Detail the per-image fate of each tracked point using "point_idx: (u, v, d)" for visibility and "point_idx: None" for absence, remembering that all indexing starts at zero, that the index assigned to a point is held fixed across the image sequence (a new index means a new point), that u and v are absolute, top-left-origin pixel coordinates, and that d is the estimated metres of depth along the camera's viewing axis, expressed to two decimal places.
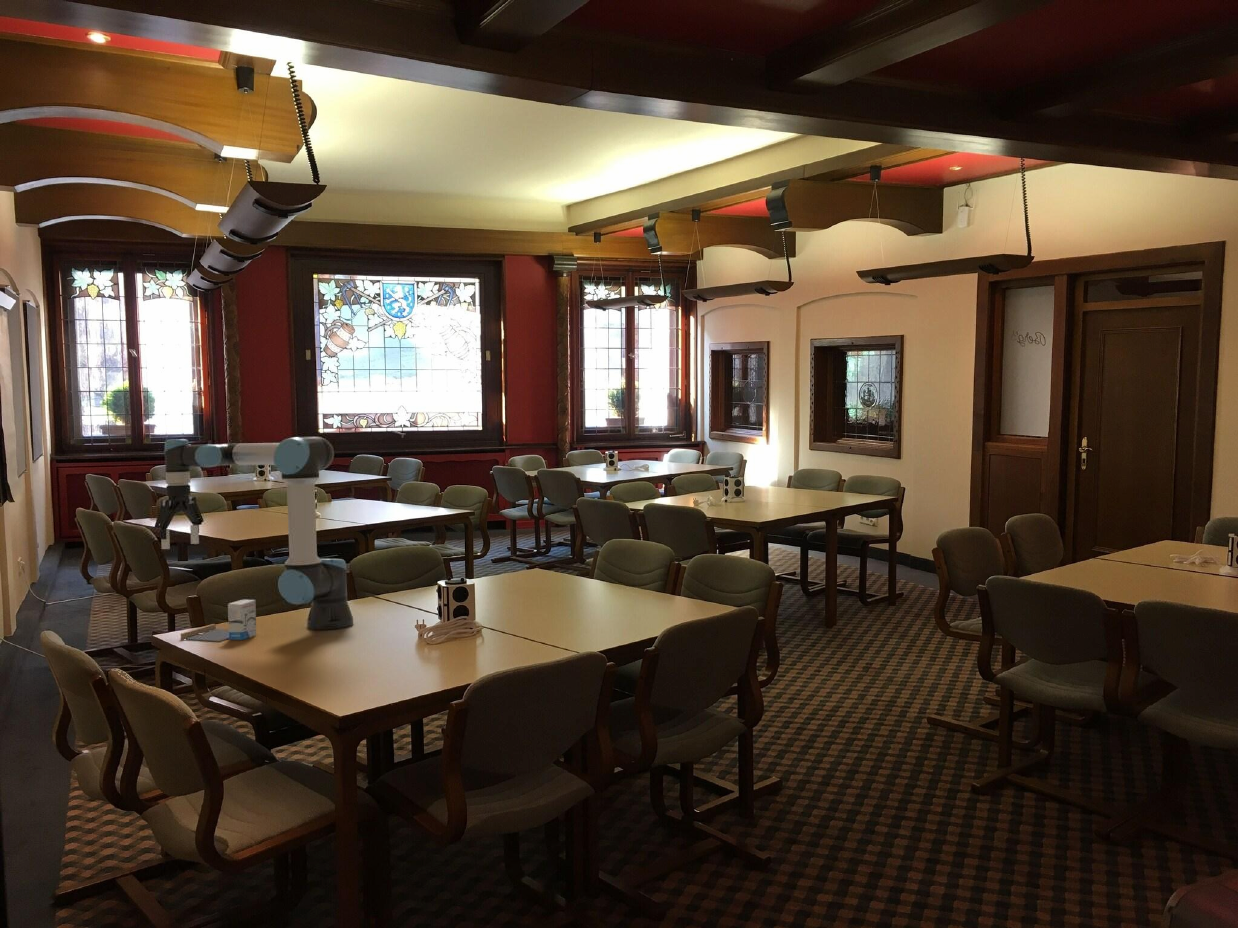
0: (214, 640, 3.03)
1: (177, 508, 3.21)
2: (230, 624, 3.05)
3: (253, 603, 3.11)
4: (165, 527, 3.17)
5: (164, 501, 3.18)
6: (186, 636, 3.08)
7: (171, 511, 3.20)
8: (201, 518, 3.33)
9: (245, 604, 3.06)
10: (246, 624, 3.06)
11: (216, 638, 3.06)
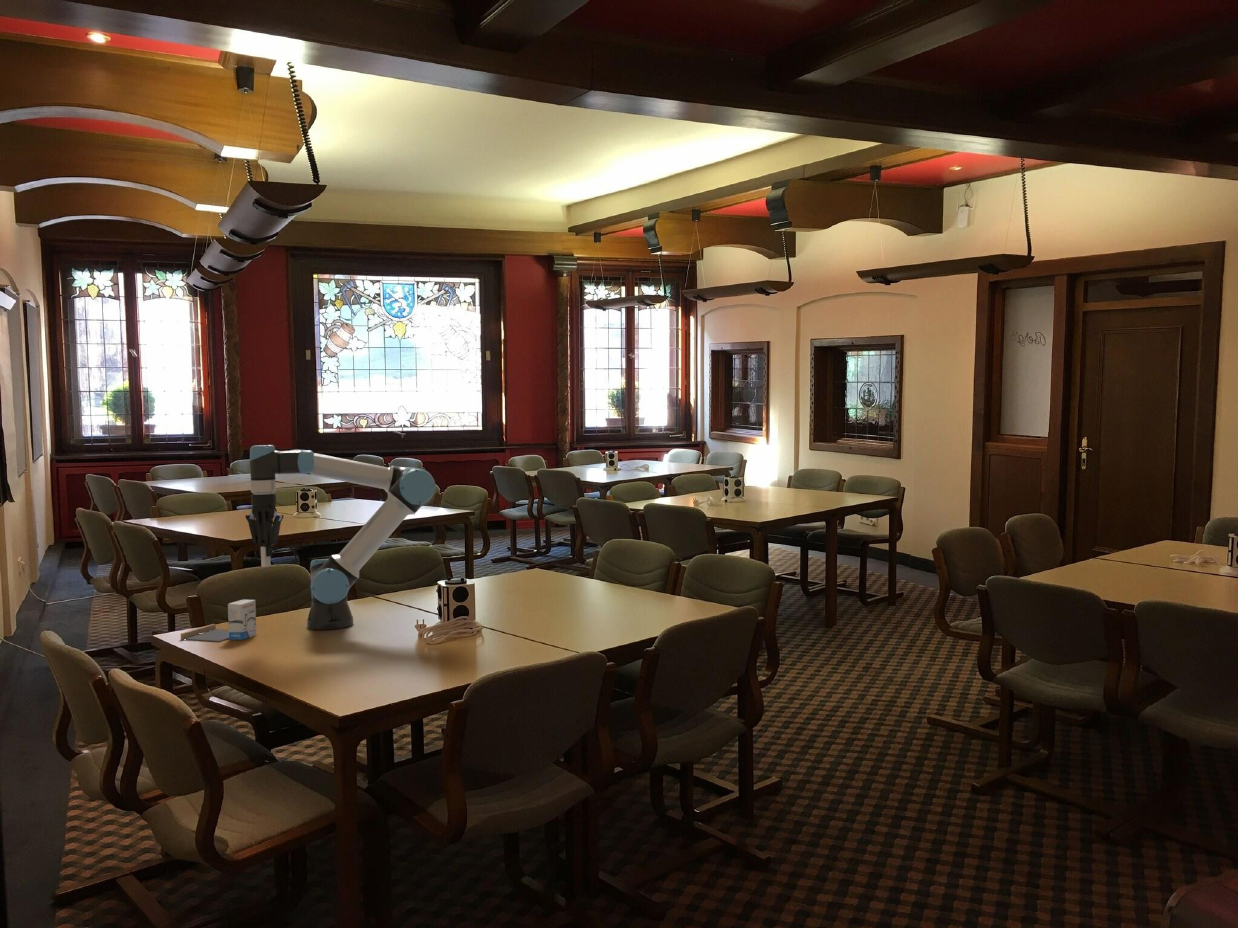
0: (214, 640, 3.03)
1: (257, 520, 3.03)
2: (230, 624, 3.05)
3: (253, 603, 3.11)
4: (258, 544, 3.04)
5: None
6: (186, 636, 3.08)
7: None
8: (271, 540, 3.02)
9: (245, 604, 3.06)
10: (246, 624, 3.06)
11: (216, 638, 3.06)
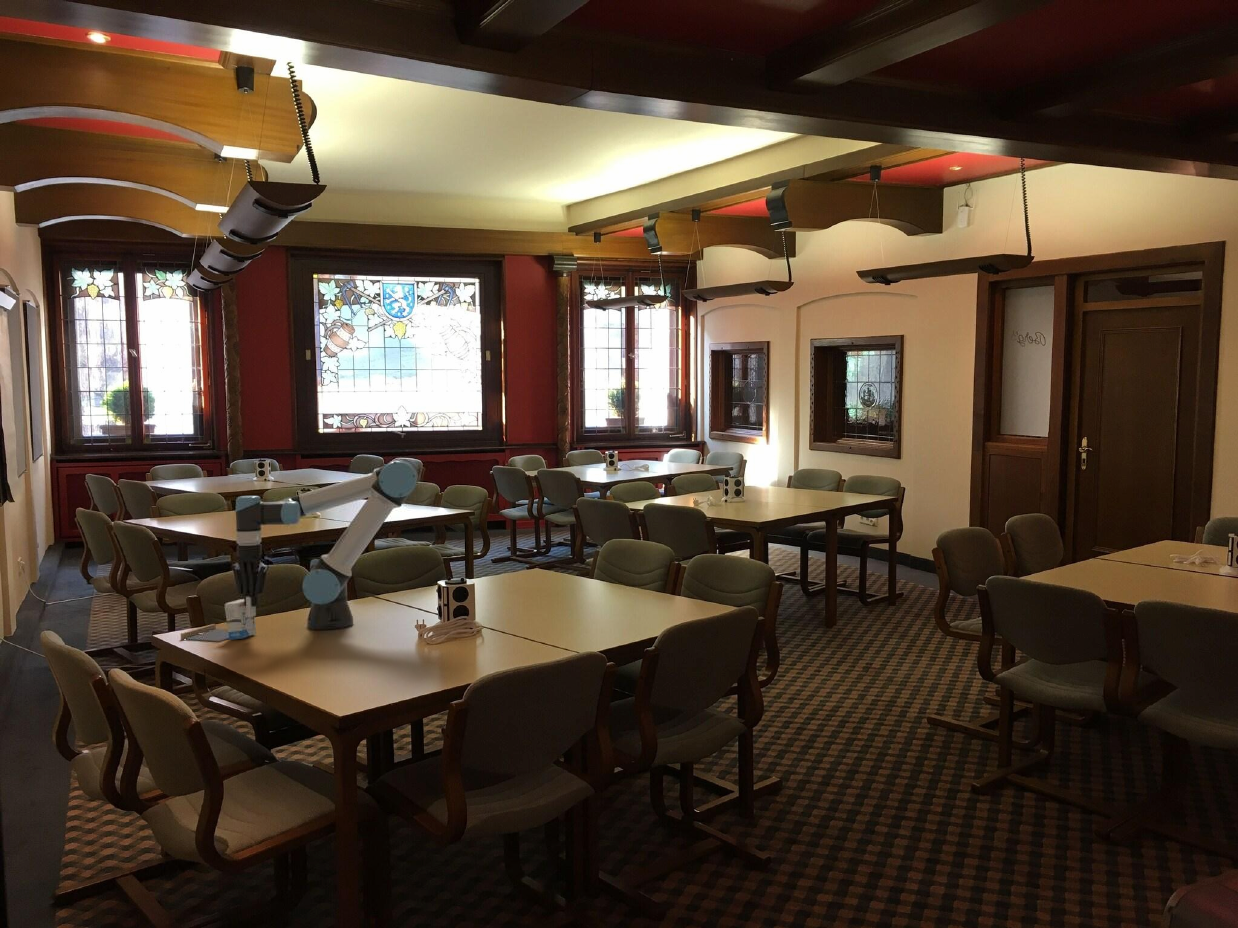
0: (214, 640, 3.03)
1: (242, 570, 3.05)
2: (229, 624, 3.05)
3: None
4: (244, 594, 3.06)
5: None
6: (186, 636, 3.08)
7: None
8: (256, 590, 3.05)
9: (242, 603, 3.06)
10: (245, 623, 3.06)
11: (216, 638, 3.06)
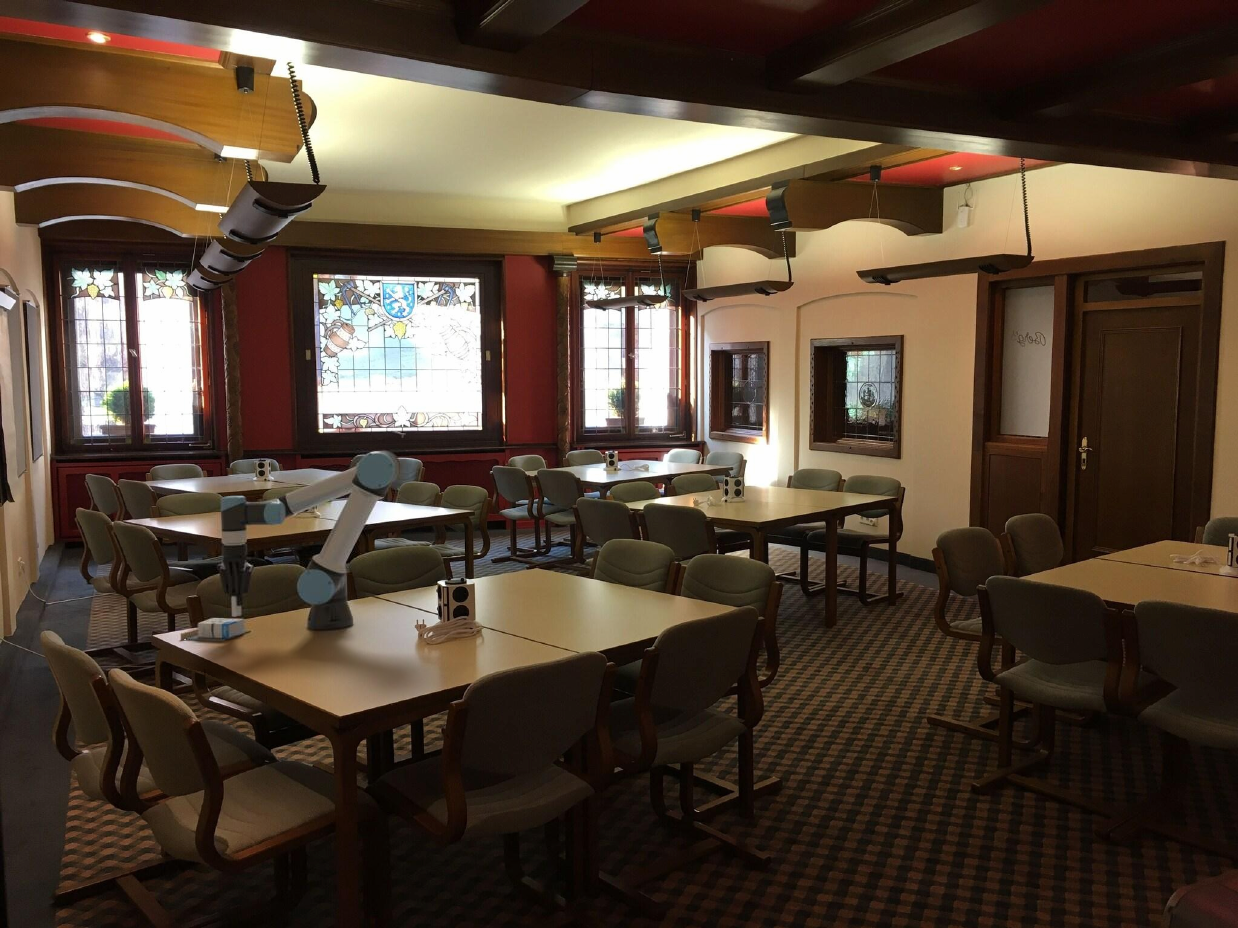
0: (214, 640, 3.03)
1: (228, 570, 3.07)
2: (215, 635, 3.06)
3: (214, 618, 3.14)
4: (229, 594, 3.08)
5: None
6: (186, 636, 3.08)
7: None
8: (241, 590, 3.06)
9: (203, 621, 3.10)
10: (221, 621, 3.08)
11: (216, 638, 3.06)
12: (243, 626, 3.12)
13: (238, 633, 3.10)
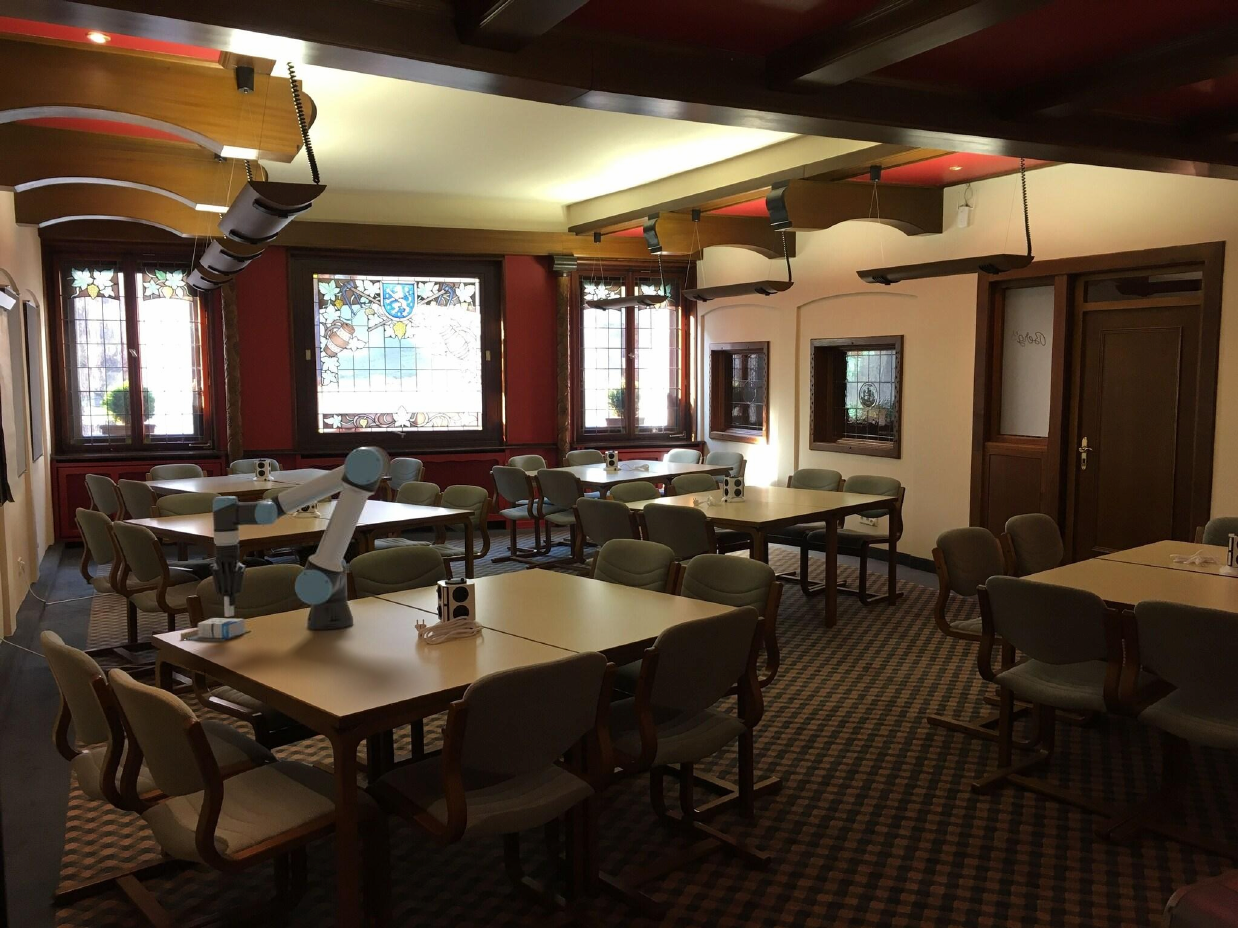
0: (214, 640, 3.03)
1: (220, 570, 3.08)
2: (215, 635, 3.06)
3: (214, 618, 3.14)
4: (222, 594, 3.09)
5: None
6: (186, 636, 3.08)
7: None
8: (234, 590, 3.07)
9: (203, 621, 3.10)
10: (221, 621, 3.08)
11: (216, 638, 3.06)
12: (243, 626, 3.12)
13: (238, 633, 3.10)
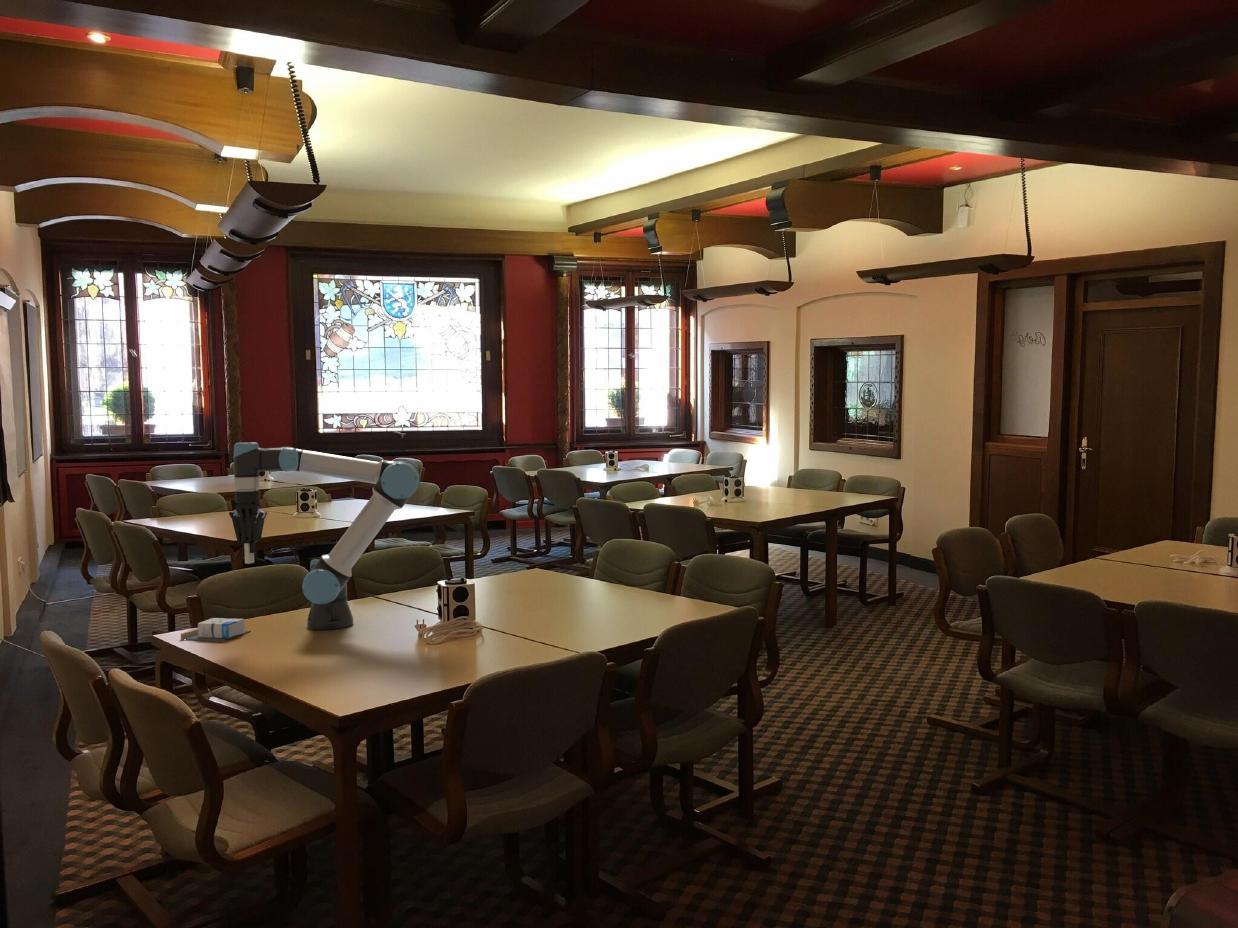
0: (214, 640, 3.03)
1: (241, 517, 3.05)
2: (215, 635, 3.06)
3: (214, 618, 3.14)
4: (242, 541, 3.05)
5: None
6: (186, 636, 3.08)
7: None
8: (255, 536, 3.04)
9: (203, 621, 3.10)
10: (221, 621, 3.08)
11: (216, 638, 3.06)
12: (243, 626, 3.12)
13: (238, 633, 3.10)
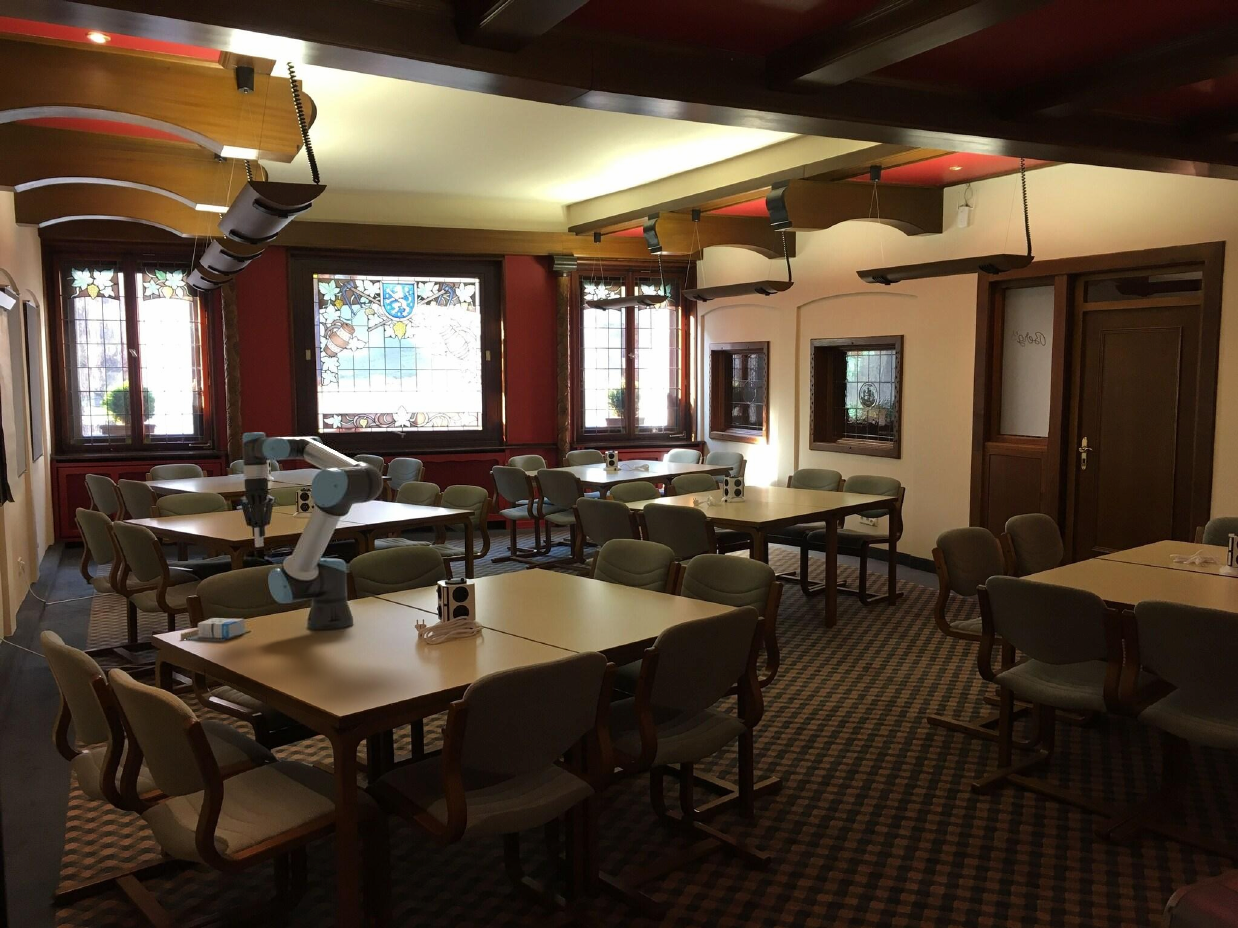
0: (214, 640, 3.03)
1: (250, 502, 3.23)
2: (215, 635, 3.06)
3: (214, 618, 3.14)
4: (252, 525, 3.24)
5: None
6: (186, 636, 3.08)
7: None
8: (264, 521, 3.23)
9: (203, 621, 3.10)
10: (221, 621, 3.08)
11: (216, 638, 3.06)
12: (243, 626, 3.12)
13: (238, 633, 3.10)
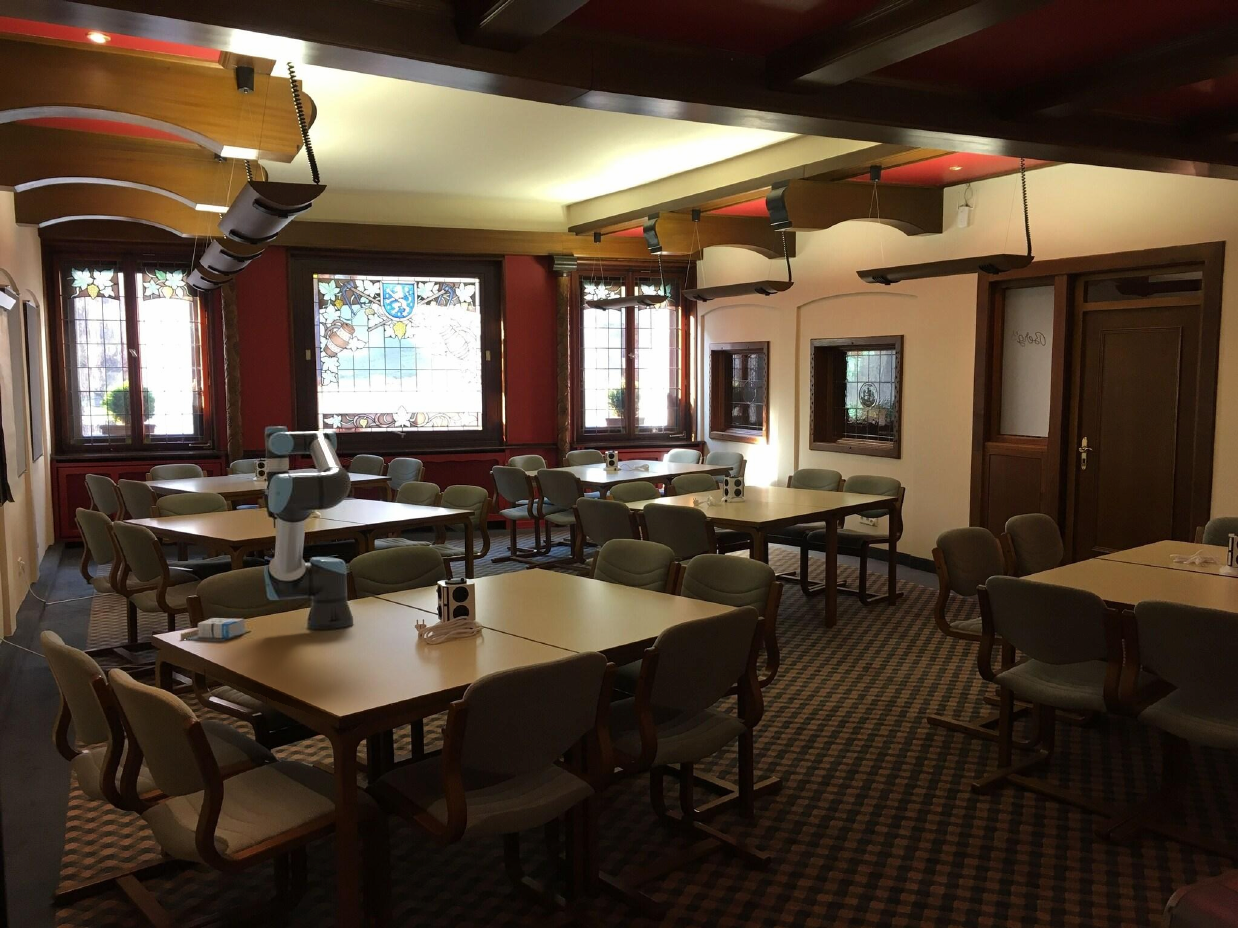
0: (214, 640, 3.03)
1: None
2: (215, 635, 3.06)
3: (214, 618, 3.14)
4: (273, 517, 3.32)
5: None
6: (186, 636, 3.08)
7: None
8: None
9: (203, 621, 3.10)
10: (221, 621, 3.08)
11: (216, 638, 3.06)
12: (243, 626, 3.12)
13: (238, 633, 3.10)
